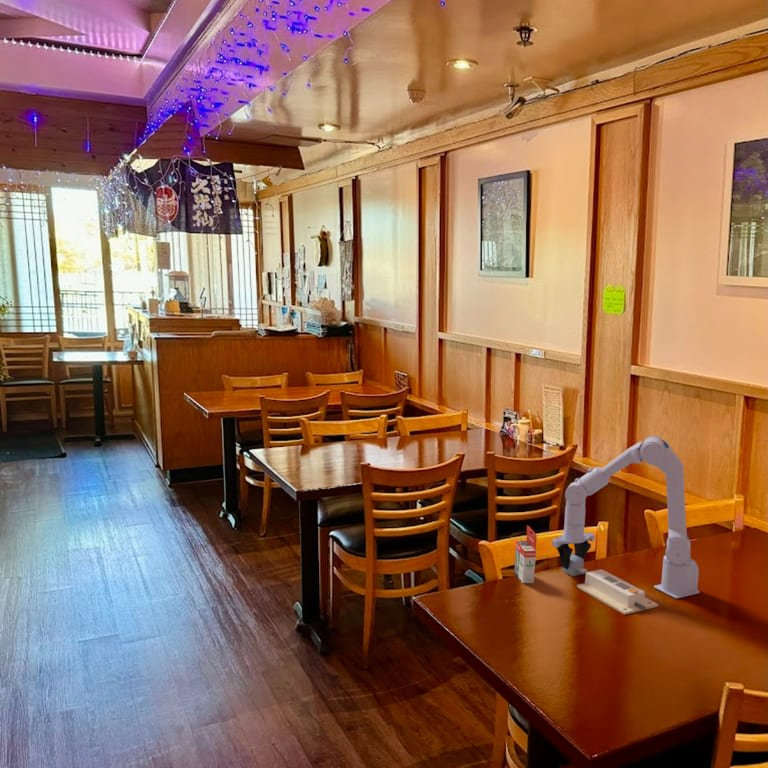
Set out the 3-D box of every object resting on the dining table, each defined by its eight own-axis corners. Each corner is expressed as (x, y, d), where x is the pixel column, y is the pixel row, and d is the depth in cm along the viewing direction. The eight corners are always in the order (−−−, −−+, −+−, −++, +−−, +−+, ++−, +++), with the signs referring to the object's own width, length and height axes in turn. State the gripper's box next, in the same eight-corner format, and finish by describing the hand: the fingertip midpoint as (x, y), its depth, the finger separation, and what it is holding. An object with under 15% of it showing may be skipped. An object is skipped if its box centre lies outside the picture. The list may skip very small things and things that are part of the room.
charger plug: (572, 568, 203) (573, 554, 203) (590, 577, 196) (591, 563, 196) (562, 570, 201) (563, 556, 201) (579, 580, 195) (580, 565, 194)
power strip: (608, 580, 195) (609, 565, 195) (661, 608, 178) (662, 592, 178) (576, 587, 190) (577, 572, 189) (627, 616, 173) (628, 600, 172)
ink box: (522, 583, 191) (524, 534, 189) (513, 572, 199) (515, 525, 197) (534, 583, 192) (537, 534, 190) (525, 572, 200) (528, 524, 198)
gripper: (583, 515, 205) (581, 557, 207) (546, 521, 199) (543, 565, 201) (600, 522, 199) (597, 566, 201) (562, 529, 193) (559, 574, 195)
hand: (571, 566), depth 200 cm, fingers open, 4 cm apart
